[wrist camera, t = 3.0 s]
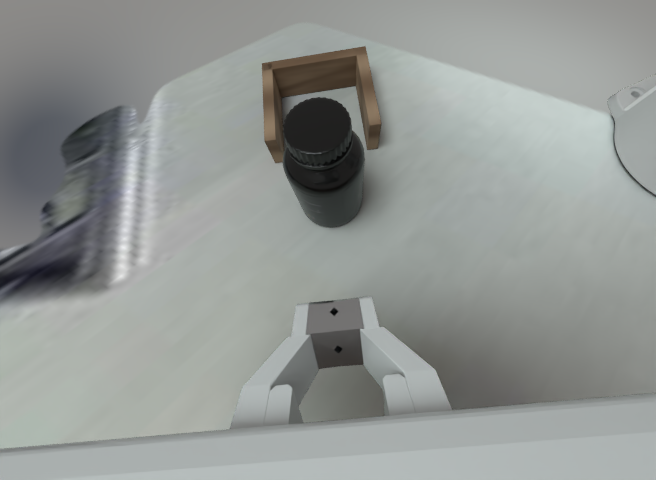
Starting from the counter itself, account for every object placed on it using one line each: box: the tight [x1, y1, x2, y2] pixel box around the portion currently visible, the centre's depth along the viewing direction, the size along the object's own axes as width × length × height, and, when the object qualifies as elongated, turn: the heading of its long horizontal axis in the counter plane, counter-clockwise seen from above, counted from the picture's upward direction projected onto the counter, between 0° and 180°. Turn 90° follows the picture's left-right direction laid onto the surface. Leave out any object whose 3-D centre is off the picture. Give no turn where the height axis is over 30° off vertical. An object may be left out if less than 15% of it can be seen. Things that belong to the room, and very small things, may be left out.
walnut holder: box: [262, 47, 381, 163], centre depth 30 cm, size 11×12×4 cm
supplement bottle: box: [283, 97, 365, 227], centre depth 23 cm, size 7×7×12 cm
